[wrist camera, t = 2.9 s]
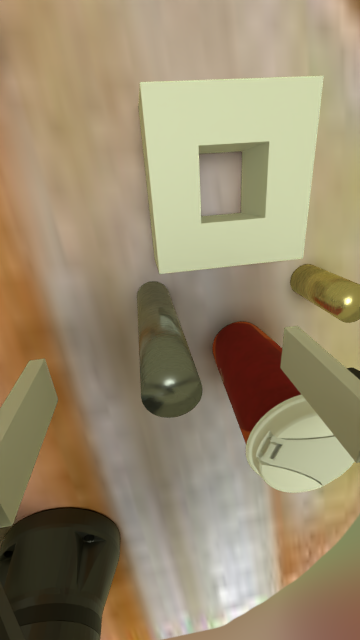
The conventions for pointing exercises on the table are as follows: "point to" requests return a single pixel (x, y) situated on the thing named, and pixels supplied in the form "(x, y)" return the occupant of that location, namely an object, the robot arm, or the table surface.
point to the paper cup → (275, 414)
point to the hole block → (257, 167)
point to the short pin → (328, 292)
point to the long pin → (164, 356)
